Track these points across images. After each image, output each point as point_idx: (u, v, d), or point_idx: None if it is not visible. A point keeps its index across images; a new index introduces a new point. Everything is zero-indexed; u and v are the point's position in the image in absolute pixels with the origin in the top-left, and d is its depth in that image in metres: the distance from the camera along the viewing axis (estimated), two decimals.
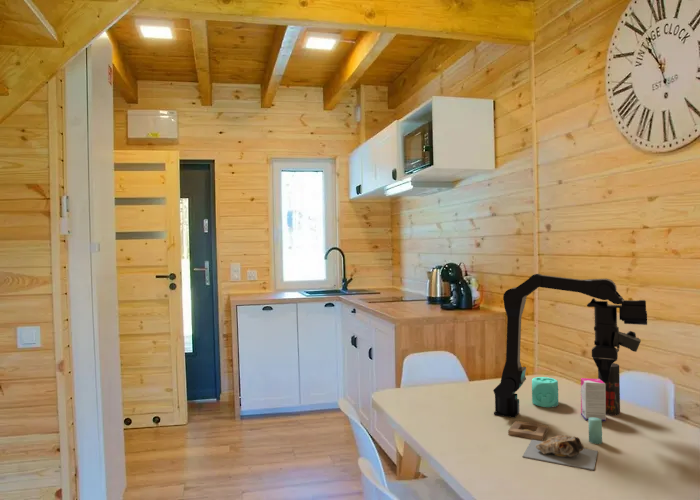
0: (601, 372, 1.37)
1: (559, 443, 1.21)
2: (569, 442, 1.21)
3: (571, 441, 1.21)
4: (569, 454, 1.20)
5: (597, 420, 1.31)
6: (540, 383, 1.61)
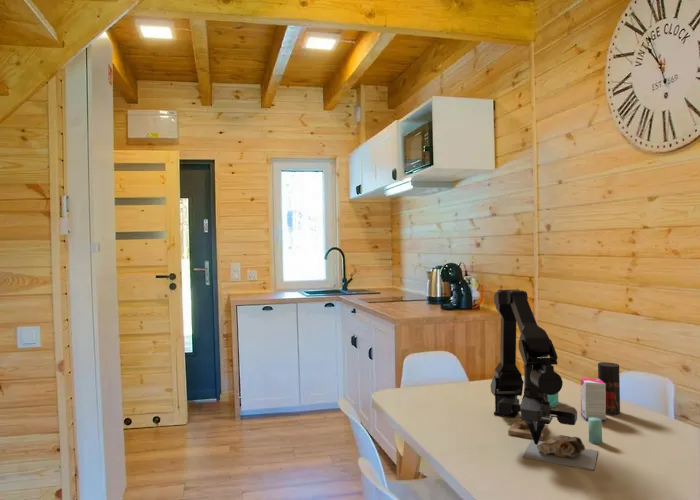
0: None
1: (560, 443, 1.21)
2: (570, 442, 1.20)
3: (572, 441, 1.21)
4: (570, 454, 1.20)
5: (597, 420, 1.31)
6: None
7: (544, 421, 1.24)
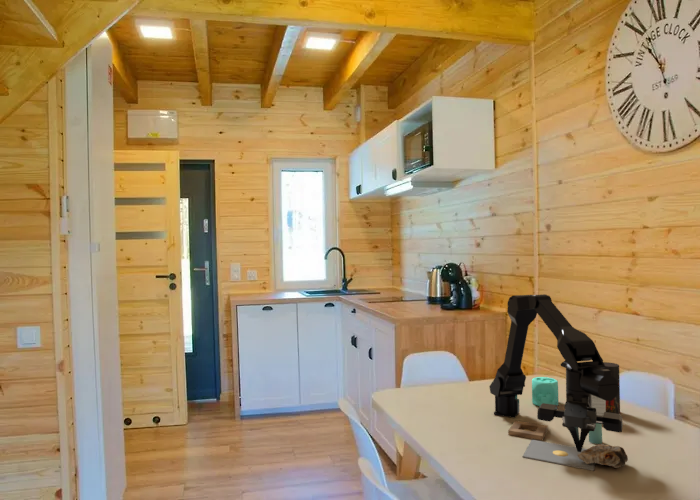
0: None
1: (605, 453, 1.15)
2: (615, 453, 1.15)
3: (617, 451, 1.15)
4: (615, 465, 1.14)
5: None
6: (540, 383, 1.61)
7: (589, 428, 1.19)
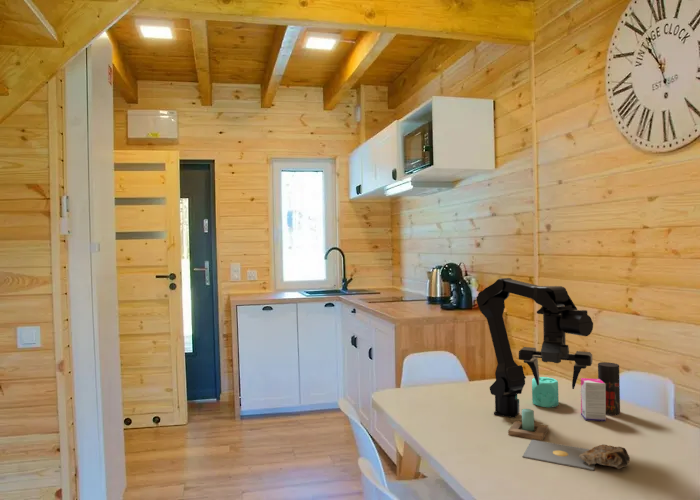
0: None
1: (607, 454, 1.15)
2: (617, 453, 1.14)
3: (619, 452, 1.15)
4: (617, 466, 1.13)
5: (529, 411, 1.39)
6: (540, 383, 1.61)
7: (580, 366, 1.33)
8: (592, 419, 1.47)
